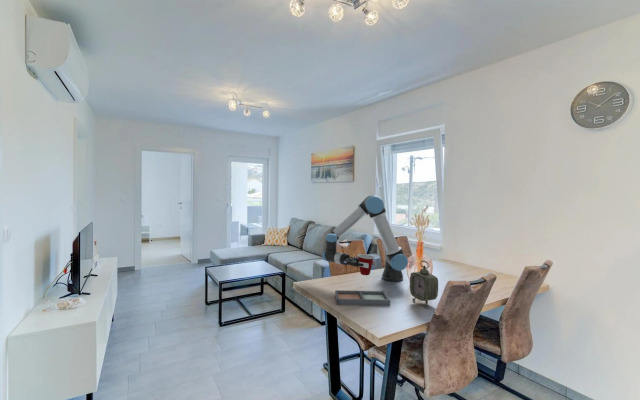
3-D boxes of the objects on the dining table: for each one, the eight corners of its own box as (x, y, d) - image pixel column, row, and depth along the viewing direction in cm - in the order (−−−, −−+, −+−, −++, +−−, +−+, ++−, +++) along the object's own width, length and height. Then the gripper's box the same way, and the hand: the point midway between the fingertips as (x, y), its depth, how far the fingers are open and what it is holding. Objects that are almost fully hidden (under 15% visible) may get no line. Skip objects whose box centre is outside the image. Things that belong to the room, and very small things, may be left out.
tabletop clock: (409, 300, 180) (410, 258, 179) (421, 298, 183) (423, 257, 182) (425, 309, 166) (427, 264, 166) (439, 307, 170) (440, 263, 169)
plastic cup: (373, 277, 188) (374, 257, 187) (356, 275, 190) (356, 256, 189) (374, 272, 198) (374, 254, 198) (357, 271, 200) (358, 253, 200)
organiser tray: (383, 295, 187) (384, 291, 187) (390, 305, 172) (390, 300, 171) (335, 295, 186) (335, 290, 186) (337, 304, 171) (337, 299, 171)
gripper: (351, 261, 213) (380, 267, 199) (332, 267, 197) (362, 273, 183) (351, 250, 213) (380, 255, 199) (333, 255, 197) (363, 261, 182)
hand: (372, 264), depth 191 cm, fingers closed on plastic cup, 9 cm apart
